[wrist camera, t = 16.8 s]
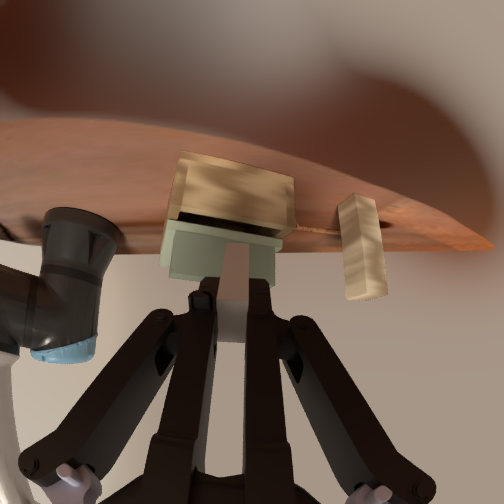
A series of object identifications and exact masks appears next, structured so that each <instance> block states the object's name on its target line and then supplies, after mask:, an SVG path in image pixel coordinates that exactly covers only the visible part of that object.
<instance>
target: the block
mask: <svg viewBox="0 0 504 504" xmlns="http://www.w3.org/2000/svg"><path fill="white" fill-rule="evenodd" d="M338 213H339V221H340V230H341V239H342V249H343V261H344V274H345V289H346V299H350V300H371V299H375V298H378V297H382V296H386V295H388V288H387V278H386V269H385V260H384V253H383V246H382V239H381V232H380V226H379V221H378V215H377V210H376V205H375V200H373V199H370V198H367V197H364V196H362V195H359V194H356V193H354V194H352V195H351V196H350V197H348V198H347V199H346V200H344V201H343V202H342V203H340V204H339V205H338Z"/></svg>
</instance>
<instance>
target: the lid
mask: <svg viewBox="0 0 504 504" xmlns="http://www.w3.org/2000/svg"><path fill="white" fill-rule="evenodd" d="M227 242H229V243H249V278H259V279H266V280H267V282H268V283H269V287H270V288H271V287H273V286H275V253H277V252H278V251H280V250H281V249H282V239H276V238H271V237H265V236H260V235H254V234H249V233H243V232H238V231H232V230H226V229H221V228H215V227H209V226H203V225H198V224H192V223H186V222H180V221H174V220H168V221H167V225H166V230H165V234H164V239H163V244H162V249H161V254H160V260H159V266H165V267H170V270H169V278H175V279H182V280H189V281H197V282H201V280H202V279H203V278H204V277H206V276H208V277H221V272H222V266H223V261H224V256H225V250H226V245H227Z"/></svg>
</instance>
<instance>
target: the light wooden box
mask: <svg viewBox="0 0 504 504" xmlns="http://www.w3.org/2000/svg"><path fill="white" fill-rule="evenodd" d="M168 220H174V221H180V222H186V223H192V224H198V225H203V226H209V227H215V228H221V229H226V230H232V231H238V232H243V233H249V234H254V235H260V236H265V237H271V238H276V239H282V238H284V237H285V236H286V235H288V234H289V233H290V232H292V231H293V230H294V229H296V215H295V197H294V181H293V177H290V176H286V175H283V174H279V173H276V172H272V171H268V170H265V169H261V168H257V167H253V166H249V165H245V164H241V163H237V162H233V161H229V160H225V159H220V158H216V157H212V156H207V155H202V154H198V153H193V152H188V151H183V150H181V153H180V156H179V160H178V164H177V168H176V172H175V176H174V180H173V184H172V188H171V193H170V197H169V202H168V206H167V211H166V217H165V223H164V229H163V235H162V242H161V249H162V244H163V239H164V234H165V230H166V225H167V221H168ZM161 249H160V251H161Z"/></svg>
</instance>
